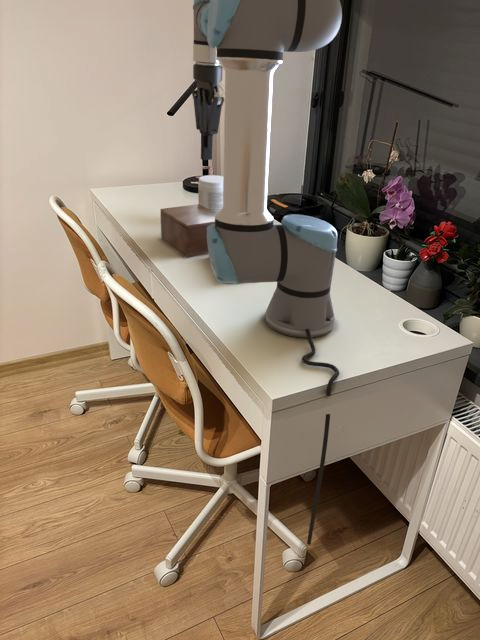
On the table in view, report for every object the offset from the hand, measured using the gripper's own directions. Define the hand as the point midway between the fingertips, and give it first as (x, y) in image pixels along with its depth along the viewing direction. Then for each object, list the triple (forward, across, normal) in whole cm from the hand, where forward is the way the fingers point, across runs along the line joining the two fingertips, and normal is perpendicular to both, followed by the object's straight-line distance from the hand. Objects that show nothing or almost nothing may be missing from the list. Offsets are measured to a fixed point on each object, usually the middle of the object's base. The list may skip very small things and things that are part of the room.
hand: (206, 159), depth 153 cm
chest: (+23, -3, +6) cm, 24 cm away
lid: (+15, -3, +6) cm, 16 cm away
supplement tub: (+24, +10, -9) cm, 27 cm away
